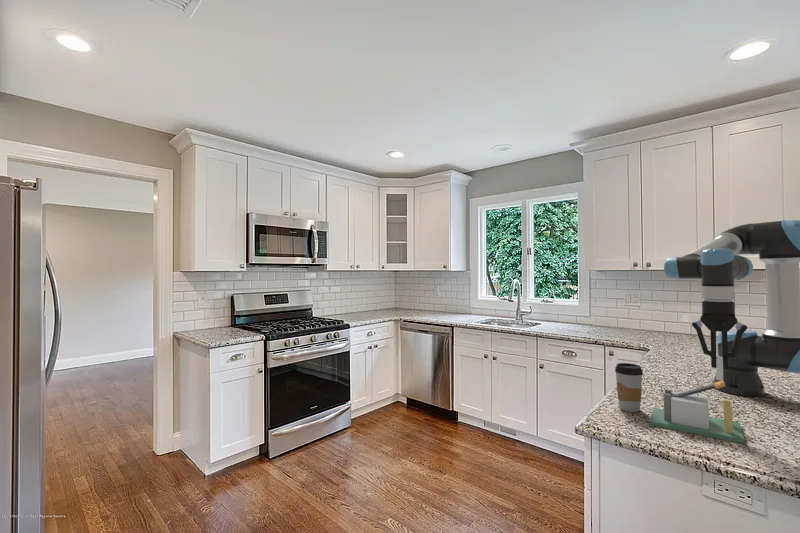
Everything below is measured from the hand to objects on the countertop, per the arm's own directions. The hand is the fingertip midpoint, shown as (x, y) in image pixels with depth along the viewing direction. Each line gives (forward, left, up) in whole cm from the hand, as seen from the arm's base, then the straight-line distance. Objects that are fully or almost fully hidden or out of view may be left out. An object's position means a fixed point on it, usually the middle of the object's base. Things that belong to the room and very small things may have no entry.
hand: (719, 379), depth 113 cm
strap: (+5, -3, -5) cm, 8 cm away
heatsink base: (+5, -3, -15) cm, 17 cm away
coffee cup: (+18, -16, -16) cm, 29 cm away
